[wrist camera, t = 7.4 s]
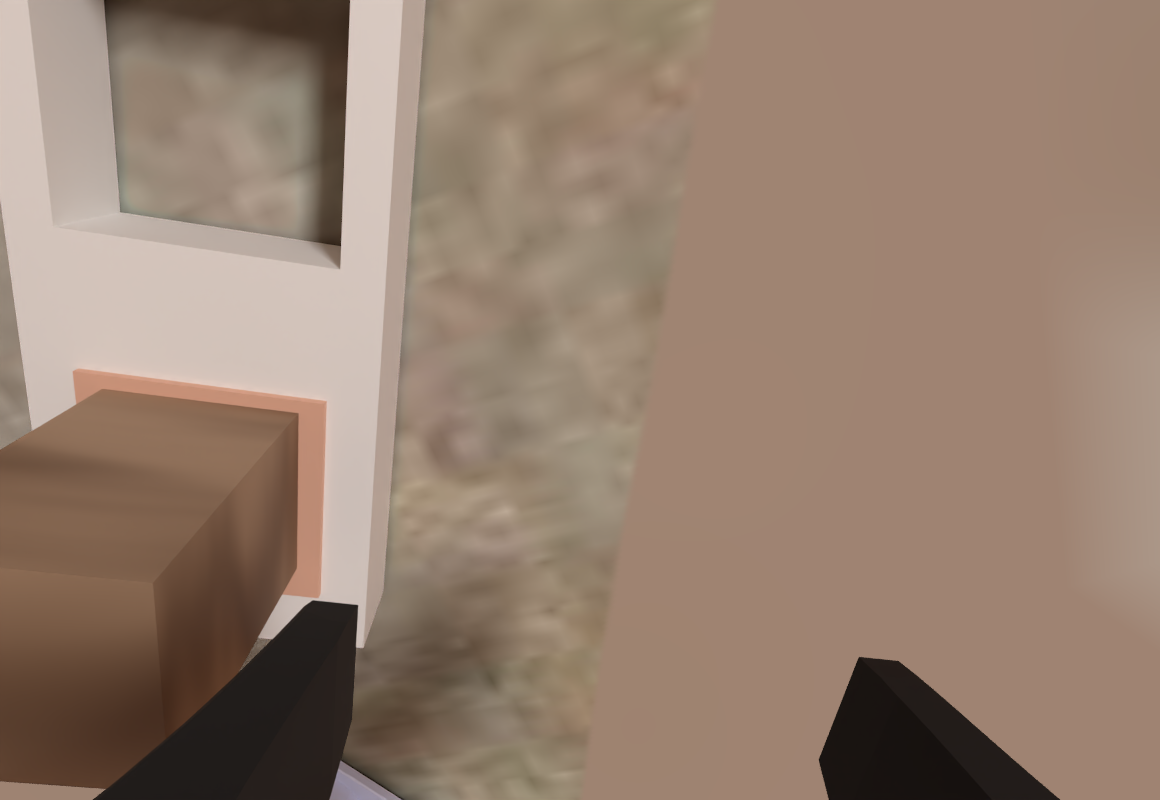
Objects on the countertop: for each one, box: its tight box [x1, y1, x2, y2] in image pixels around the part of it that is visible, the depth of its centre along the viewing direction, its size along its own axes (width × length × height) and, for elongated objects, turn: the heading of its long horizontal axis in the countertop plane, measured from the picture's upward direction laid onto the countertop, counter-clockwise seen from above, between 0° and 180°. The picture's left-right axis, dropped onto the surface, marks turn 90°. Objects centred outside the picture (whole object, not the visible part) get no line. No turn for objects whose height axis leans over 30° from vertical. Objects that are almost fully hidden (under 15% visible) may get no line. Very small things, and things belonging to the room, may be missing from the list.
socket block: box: [0, 0, 426, 648], centre depth 17 cm, size 18×8×3 cm, turn 171°
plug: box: [0, 389, 299, 789], centre depth 14 cm, size 4×4×6 cm
